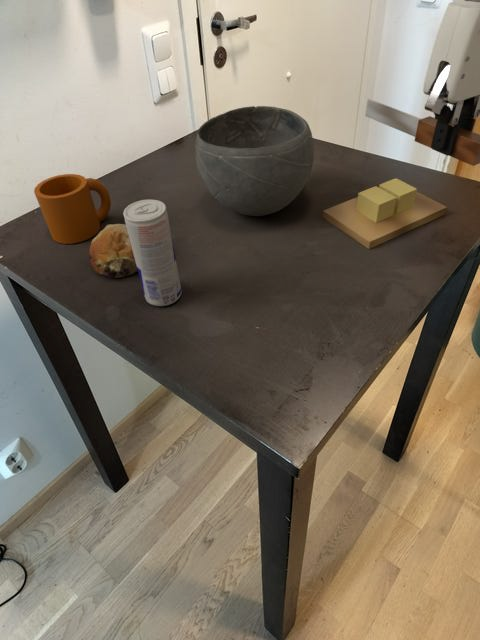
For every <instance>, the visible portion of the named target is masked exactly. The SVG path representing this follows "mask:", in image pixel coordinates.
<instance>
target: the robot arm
mask: <svg viewBox="0 0 480 640" xmlns="http://www.w3.org/2000/svg"><path fill="white" fill-rule="evenodd" d="M422 91H423V94H424V95H426V96H428V98H427V99H426V102H425V104H424V110H425V111H429V112H431V113H433V115H434V118H435V120H436V121H437V123H436V127H435V131H434V135H433V139H432V144H431V148H430V149H431V150H433V151H435V152H437V153H440V154H442V155H445V156H447V157H450V156H449V155H451V154H452V153H453V149H454V146H455V142H456V138H457V135H458V131H459V128H463V129H466V130H468V131H471V132H473V129H474V127H475V123H476V119H477V118H478V117H479V116H480V0H452V1H451V2H449V3H448V4H447V6H446V9H445V12H444V14H443V16H442V19H441V22H440V25H439V28H438V30H437V34H436V37H435V40H434V43H433V47H432V50H431V54H430V58H429V61H428V65H427V68H426V73H425V77H424V81H423V89H422ZM448 104H449V105H452V108H451V106H449V105H448Z"/></svg>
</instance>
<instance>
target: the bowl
mask: <svg viewBox="0 0 480 640" xmlns="http://www.w3.org/2000/svg"><path fill="white" fill-rule="evenodd" d="M309 125H310V124H309V123H308V122H307V121H306V119H305V118H304V117H302V116H301V115H299V114H298V113H296V112H294V111H293V110H290V109H288V108H287V109H286V108H281V107H277V106H269V105H268V106H267V105H257V106H255V105H252V106H251V105H250V106H243V107H237V108H235V109H231V110H228V111H225V112H224V113H220V114H218V115H216V116H213V117H211V118H210V119H208V120H207V121H205V122H203V124H202V125H201V126H199V128H198V129H197V134H196V138H195V142H194V159H195V165H196V168H197V171H198V175H199V178H200V180H201V182H202V184H203V186H204V187H205V189H206V190H207V191H208V193H209V194H210V195H211V196H212V197H213V198H214V199H215V200H216V201H217V202H219V203H220V204H221V205H222V206H224V207H225V208H227V209H228V210H230V211H232V212H233V213H236V214H239V215H243V216H248V217H249V216H250V217H264V216H267V215H271V214H274V213H277V212H279V211H281V210H282V209H285V208H286V207H287V206H288V205H290V204H291V203H292V202H293V201H294V200H296V198H297V196H298V195H299V194H300V193H301V192H302V190H303V189H304V188H305V186H306V184H307V182H308V180H309V178H310V175H311V172H312V169H313V166H314V159H315V158H314V157H315V155H314V154H315V143H314V138H313V133H312V130H311V128H310V126H309Z"/></svg>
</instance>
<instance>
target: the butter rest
mask: <svg viewBox="0 0 480 640" xmlns="http://www.w3.org/2000/svg"><path fill="white" fill-rule="evenodd" d="M378 188H380V189H382V190H384V191H386V192H388V193H389V194H391V195H393V196H395V197H397V199H396V204H395V209H394V213H396V214H398V213H400V212H402V211H405V210H407V209H409V208H412V207H413V205H414V201H415V196H416V192H418V188H416V187H415V186H412V185H410V184H408V183H406V182H404V181H402V180H401V179H399V178H397V177H395V178H393V179H390V180H387V181H385V182H382V183H380V184H379V185H378Z"/></svg>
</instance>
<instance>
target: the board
mask: <svg viewBox="0 0 480 640" xmlns="http://www.w3.org/2000/svg"><path fill="white" fill-rule="evenodd" d="M357 201H358V196H356V197H353V198H350V199H348V200H346V201H343V202H341V203H338V204H336V205H333V206H331V207H329V208H327V209H323V210H322V219H323V220H325V221H326V222H328V223H329V224H331V225H332V226H334V227H335V228H337V229H338V230H340V231H341V232H342V233H344V234H346V235H347V236H348V237H350V238H351V239H353V240H354V241H356V242H357V243H359V244H361V246H363V247H365V248H366V249H368V250H370V249H372V248H375V247H377V246H379V245H381V244H383V243H385V242H388V241H390V240H392V239H395V238H396V237H399V236H401V235H404V234H405V233H408V232H409V231H412V230H414V229H416V228H419V227H421V226H423V225H425V224H428V223H430V222H432V221H434V220H436V219H438V218H441V217H442V216H445V215H446V213H447V209H448V207H447V206H446V205H444V204H442V203H440V202H438V201H436V200H434V199H432V198H430V197H429V196H426V195H424V194H423V193H421V192H419V191H417V192H416V196H415V201H414V205H413V207H412V208H409V209H407V210H405V211H402V212H400V213H398V214H396V213H394V214H393V216H391V217H389V218H386V219H384V220H382V221H379V222H377V223H375V222H374V221H372V220H370V219H369V218H367V217H366V216H364V215H362V214H361V213H359V212H358V211H356V208H357Z"/></svg>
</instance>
